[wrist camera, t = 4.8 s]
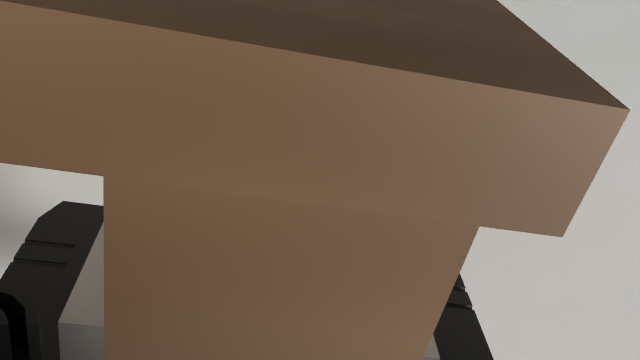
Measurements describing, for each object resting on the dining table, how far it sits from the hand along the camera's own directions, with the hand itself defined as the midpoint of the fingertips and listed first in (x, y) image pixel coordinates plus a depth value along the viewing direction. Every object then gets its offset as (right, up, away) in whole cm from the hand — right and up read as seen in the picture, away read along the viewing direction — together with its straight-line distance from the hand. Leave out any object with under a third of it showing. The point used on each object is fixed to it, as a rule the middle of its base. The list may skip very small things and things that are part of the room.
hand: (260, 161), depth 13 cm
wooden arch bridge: (-1, -2, +2) cm, 3 cm away
